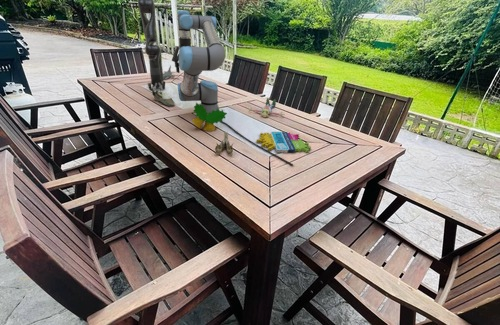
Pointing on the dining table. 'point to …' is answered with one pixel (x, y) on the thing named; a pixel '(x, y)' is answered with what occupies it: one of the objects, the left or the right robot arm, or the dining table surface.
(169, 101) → the snakeskin print shoe
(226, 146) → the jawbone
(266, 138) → the sign
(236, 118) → the dining table surface
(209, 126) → the ornament
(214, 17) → the right robot arm
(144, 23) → the left robot arm
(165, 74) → the airplane
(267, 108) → the toy
